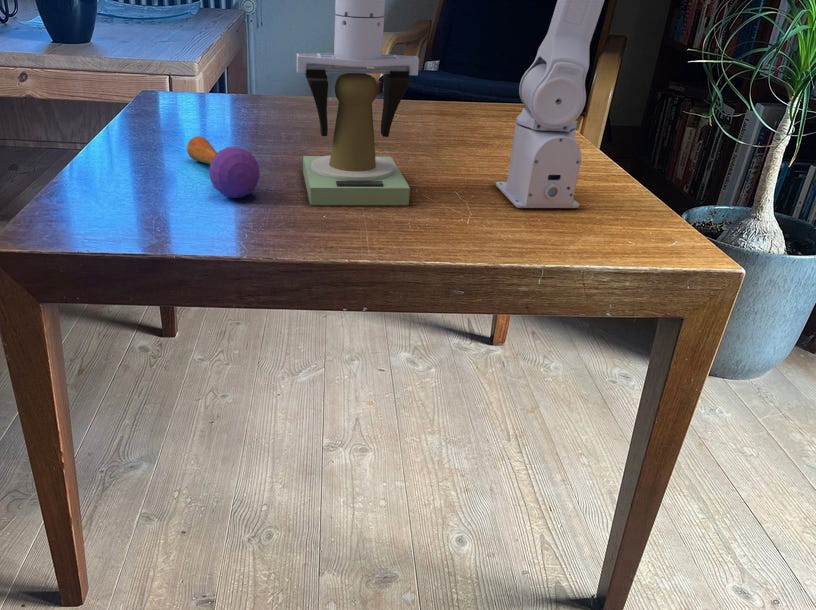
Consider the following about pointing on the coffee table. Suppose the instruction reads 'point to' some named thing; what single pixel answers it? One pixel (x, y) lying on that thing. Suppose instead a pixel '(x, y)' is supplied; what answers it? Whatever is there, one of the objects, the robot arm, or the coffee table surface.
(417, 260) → the coffee table surface
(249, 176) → the maraca
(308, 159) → the scale
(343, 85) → the cork
